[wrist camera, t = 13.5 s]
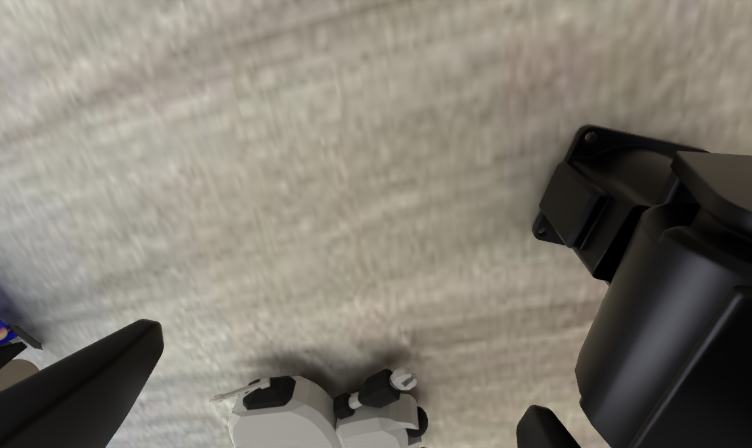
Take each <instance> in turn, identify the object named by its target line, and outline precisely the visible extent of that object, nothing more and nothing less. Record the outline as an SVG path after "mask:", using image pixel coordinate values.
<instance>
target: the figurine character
mask: <svg viewBox="0 0 752 448" xmlns="http://www.w3.org/2000/svg"><path fill="white" fill-rule="evenodd" d="M9 328H10V330H11V331H9ZM8 331H9V332H8ZM17 336H18V337H20V338H21V339H23V340H24V341H25V342H27V343H28V344H29V345H31V346H32V347H33V348H35V349H41V350H43V349H42V346H41V343H39V342H38V341H37V340H35V339H34V338H33V337H31V336H30V335H29V334H27V333H26V332H25V331H23V330H22V329H21V328H19V327H18V326H14V325H10V324H9V326H8V325H6V324H5V323H4V322H2V321H1V320H0V391H2V390H4V389H5V388H7V387H9V386H11V385H13V384H15V383H17V382H19V381H21V380H23V379H25V378H27V377H29V376H31V375H33V374H35V373H37V372H38V371H39V369H38V368H37V367H36V366H35V365H34V364H33V363H31V362H29V361H27V360H21V359H16V360H12V359H13V358H14V357H16V356H17V355H18V354H19V353H21V352H22V351H23V350H24V349H25V348H27V346H26V345H25V344H24V343H23V342H18V343H13V344H12V343H11V342H9V341H10V340H12V339H14V338H15V337H17Z"/></svg>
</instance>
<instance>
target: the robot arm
mask: <svg viewBox="0 0 752 448" xmlns="http://www.w3.org/2000/svg"><path fill="white" fill-rule="evenodd" d="M589 132H592V133H593V134H592V137H591V138H590V139H588V140H585V136H586V134H587V133H589ZM539 207H540V209H541V210H540V212H539V215H538V217H537V219H536V221H535V223H534V225H533V227H532V233H533V235H534V236H535V237H536V239H539V240H542V241H547V242H551V243H556V244H561V245H565V246H567V247H568V248H572V249H573V250H574V252H575V253H576V254H577V256H578V257H579V258H580V260H581V261H582V263H583V264H584V265H585V267H586V268H587V269H588V271H589V272H590V274H591V275H592V276H593V277H594V278H596V279H599V280H604V281H605V282H606V283H607V285H608V286H609V288H608V291H607V293H606V295H605V297H604V300H603V302H602V304H601V306H600V309H599V311H598V313H597V315H596V318H595V320H594V322H593V324H592V326H591V329H590V331H589V333H588V335H587V338H586V340H585V342H584V344H583V347H582V349H581V351H580V353H579V356H578V360H577V364H576V368H575V373H576V378H577V383H578V387H579V392H580V394H581V396H582V397H581V399H580V401H579V403H580V406H581V408H582V410H583V411H584V413H585V415H586V416H587V418H588V420H589V421H590V423H591V424H592V426H593V427H594V428H595V429H596V430H597V432H598V433H599V434H600V435H601V436H602V437H603V439H604V440H605V441H606V442H607V443H608V444H609V446H610V447H611V448H752V156H749V155H734V154H718V153H710V152H708V151H706V150H703V149H700V148H696V147H691V146H687V145H682V144H677V143H673V142H668V141H664V140H659V139H655V138H650V137H645V136H641V135H636V134H632V133H627V132H623V131H618V130H614V129H609V128H604V127H600V126H595V125H585V126H583V127H582V128H580V129H579V131H578V132H577V134H576V136H575V138H574V140H573V143H572V145H571V147H570V149H569V151H568V153H567V155H566V157H565V160H564V161H563V162H562V163H560V164H559V165H558V166H557V168H556V170H555V173H554V175H553V177H552V179H551V181H550V183H549V185H548V188H547V190H546V192H545V194H544V196H543V198H542V200H541V203H540V205H539ZM541 229H546V230H545V231H544V232H542V233H539V231H540V230H541ZM163 349H164V342H163V334H162V327H161V324H160V323H159V322H157V321H152V320H148V319H141V320H138V321H136V322H134V323H132V324H130V325H128V326H126V327H124V328H122V329H120V330H118V331H116V332H114V333H112V334H110V335H108V336H106V337H105V338H103V339H101V340H99V341H97V342H95V343H93V344H91V345H89V346H87V347H85V348H83V349H81V350H79V351H77V352H75V353H73V354H72V355H70V356H68V357H66V358H64V359H62V360H60V361H58V362H56V363H54V364H52V365H50V366H48V367H46V368H44V369H42V370H40V371H38V372H37V373H35V374H33V375H31V376H29V377H27V378H25V379H23V380H21V381H19V382H17V383H15V384H13V385H11V386H9V387H7V388H5V389H4V390H2V391H0V448H105V447H106V446H107V444H108V443H109V441H110V440H111V439H112V437H113V436H114V434H115V433H116V431H117V430H118V428H119V427H120V425H121V424H122V422H123V421H124V419H125V418H126V416H127V415H128V413H129V411H130V410H131V408H132V406H133V404H134V403H135V401H136V399H137V397H138V396H139V394H140V392H141V390H142V389H143V387H144V385H145V383H146V381H147V380H148V378H149V376H150V374H151V373H152V371H153V369H154V367H155V366H156V364H157V362H158V360H159V359H160V357H161V355H162V352H163ZM516 435H517V446H518V448H581V447H580V446H579V444H578V443H577V442H576V441H575V439H574V438H573V437H572V436H571V434H570V433H569V432H568V431H567V429H566V428H565V427H564V425H563V424H562V423H561V422H560V420H559V419H558V418H557V417H556V415H555V414H554V413H553V412H552V411H551V410H550V409H549V408H546V407H542V406H537V405H531V406H530V407H529V408H528V409H527V411H526V412H525V414H524V415H523V417H522V418H521V420H520V421H519V423H518V425H517V431H516Z"/></svg>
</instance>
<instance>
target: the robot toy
mask: <svg viewBox="0 0 752 448" xmlns="http://www.w3.org/2000/svg"><path fill="white" fill-rule="evenodd" d="M416 383H417V377H416V375H415V374H414V373H412V371H411V370H410V369H409V368H407V367H401V368H396V369H395V371H394V372H392V371H391V370H389V369H385V370H383V371H381V372H378V373H376V374H374V375H372V376H370V377H368V378H367V380H366V381H365V383H364V384H363V386H362V388H361V389H360V391H359V392H355V393H352V394H348V393H344V394H342V395H340V396H338V397H336V398H335V400H334V401H333V399H332V398H331V397H330V396H329V395H328V394H327V392H325V391H324V390H323V389H322V388H321V387H320V386H319V385H317V384H316V383H314V382H312V381H310V380H308V379H305V378H303V377H301V376H291V377H290V376H282V377H273V378H269V377H266V378H263V379H257V380H255V381H253V382H251V383H249V385H248V386H246V387H244V388H241V389H238V390H235V391H232V392H229V393H226V394H223V395H222V394H219V395H216V396H214V397H213V398H212V399H211V400H210V401H209V402H212V403H218V402H221V401H222V400H224V399H227V398H230V397H233V396H235V395H238V394H239V396H238V399H237V401H236V404H235V406H234V408H233V411H232V413H231V416H230V418H229V421H228V427H229V433H230V436H231V439H232V442H233V444H234V447H235V448H418V447H419V445H420V444H421V442H422V440H421V435H422V434H424V433H425V431H426V429H427V427H428V418H427V415H426V412H425V411H424V410H423V409H422V408H420V407H418V406H417V402H416V400H415V399H414V398H413V397H412V396H411V395H409V394H401V390H410V389H411V388H412V387H414V386H415V385H416ZM421 448H426V447H421Z"/></svg>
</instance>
